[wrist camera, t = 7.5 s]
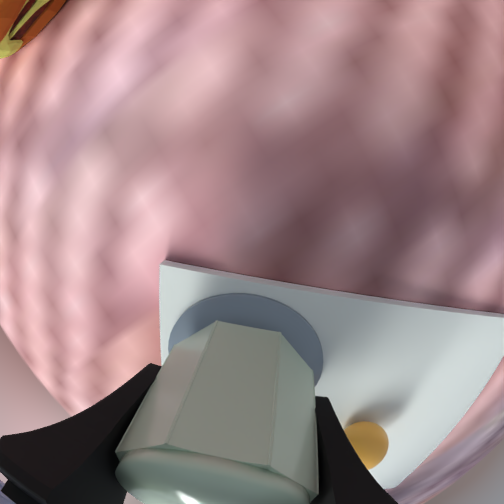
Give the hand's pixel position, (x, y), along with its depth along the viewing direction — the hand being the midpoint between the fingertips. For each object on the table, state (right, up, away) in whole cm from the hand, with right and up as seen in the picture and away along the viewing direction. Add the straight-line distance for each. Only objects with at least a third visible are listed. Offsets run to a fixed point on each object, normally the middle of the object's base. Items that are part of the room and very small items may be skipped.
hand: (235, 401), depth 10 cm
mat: (+5, -5, +4) cm, 8 cm away
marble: (+6, -5, +2) cm, 8 cm away
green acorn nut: (0, 0, +1) cm, 1 cm away
